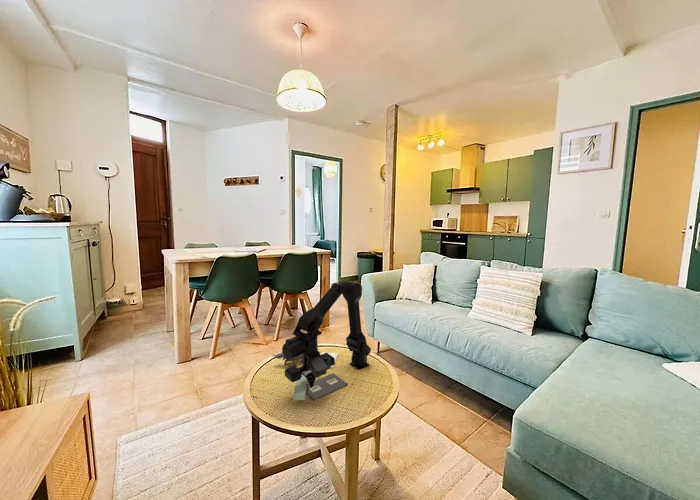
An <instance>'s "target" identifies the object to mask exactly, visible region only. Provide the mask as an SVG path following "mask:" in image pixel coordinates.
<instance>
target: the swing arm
mask: <svg viewBox="0 0 700 500" xmlns="http://www.w3.org/2000/svg"><path fill="white" fill-rule="evenodd" d="M307 384H308V381H307V379H306V377H305V376H304V375H302V377H301V379H300V380H297V381H295V386H294V391H293V401H305V400H306V395H307V394H306V389H307Z"/></svg>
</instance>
